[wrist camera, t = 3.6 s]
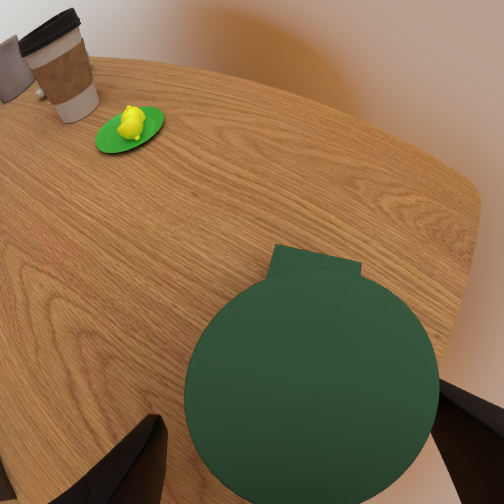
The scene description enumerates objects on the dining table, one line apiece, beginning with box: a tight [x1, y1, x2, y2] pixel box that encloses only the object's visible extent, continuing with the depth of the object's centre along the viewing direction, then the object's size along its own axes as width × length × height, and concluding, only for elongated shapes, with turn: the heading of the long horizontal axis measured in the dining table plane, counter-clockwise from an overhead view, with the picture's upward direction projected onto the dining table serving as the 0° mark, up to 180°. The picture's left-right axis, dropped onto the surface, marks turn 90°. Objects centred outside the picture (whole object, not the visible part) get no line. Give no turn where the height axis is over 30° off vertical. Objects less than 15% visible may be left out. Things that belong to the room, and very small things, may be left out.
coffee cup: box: [18, 8, 99, 124], centre depth 26 cm, size 8×8×15 cm
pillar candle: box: [0, 35, 35, 103], centre depth 37 cm, size 10×10×15 cm
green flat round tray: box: [96, 105, 164, 153], centre depth 27 cm, size 8×8×3 cm
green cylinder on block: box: [184, 244, 439, 504], centre depth 12 cm, size 11×5×12 cm, turn 165°
